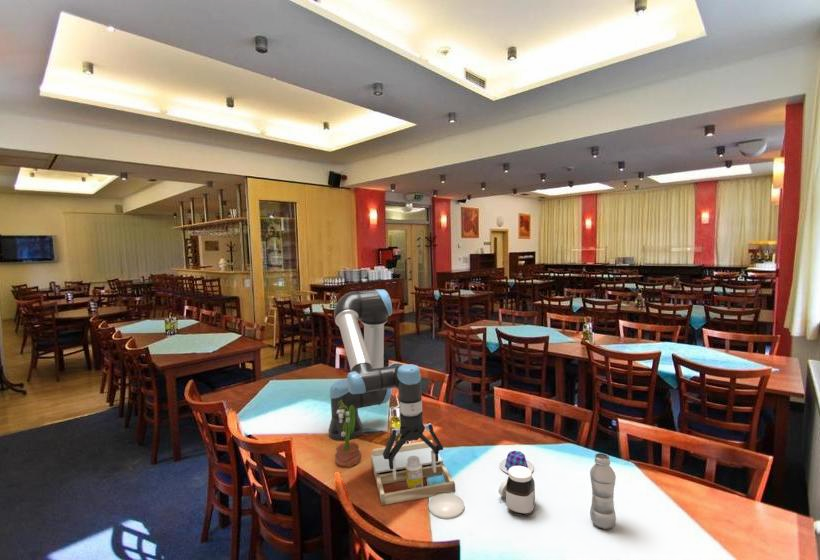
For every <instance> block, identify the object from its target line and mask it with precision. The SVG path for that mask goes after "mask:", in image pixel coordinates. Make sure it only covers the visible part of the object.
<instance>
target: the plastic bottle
mask: <svg viewBox="0 0 820 560" xmlns="http://www.w3.org/2000/svg"><path fill="white" fill-rule="evenodd" d="M594 463H595V464H594V465H592V467H591V468H590V471H589V476H590V483H591V491H592V493H591V495H592V497H591V505H590V510H589V515H590V520H591V523H593V524H594V526H595V527H598V528H600V529H604V530H609V529H612V528H613V527H615V525H616V522H617V521H616V520H617V516H616V510H615V502H614V495H615V494H614V491H615V485H616V476H617V475H616V472H615V470H613V468H612V466H611V461H610V456H609V455H608V454H606V453H603V452H599V453H595V454H594Z"/></svg>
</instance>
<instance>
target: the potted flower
mask: <svg viewBox="0 0 820 560" xmlns="http://www.w3.org/2000/svg"><path fill="white" fill-rule="evenodd" d="M341 401H342V400H341ZM341 401H340V402H341ZM338 404H339V403H338ZM342 404H343V405H342ZM341 405H342V407H344V409H341ZM345 407H347V406H345V405H344V403H343V402H342V403H341V404H340V409H339V410H337V413H338V414H339V419H340V420H339V423H342V422H343V420H342V418H344V417H343V415H344V414H345V415H344V416H345V423H344V425H343V429H344V431H343V432H342V433H341V435H342V436H343V437H344V436H345V440H344V442H343V443H340V444H338V445H337V447H336V448H335V450H336V453H335V456H334V461H335V463H336V464H337V465H339V466H341V467H351V466H354V465H356V464H358V463H359V461H360V460H361V458H362V453H361V450H360V444H358V443H357V442H354V441H350V440H351V439H350V436H351V434H352V432H353V430H354V424H355V410H354V406H353V405H351V406H350V407H349V410H348V408H347V412H346V409H345ZM337 413H336V414H337Z"/></svg>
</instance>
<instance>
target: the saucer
mask: <svg viewBox="0 0 820 560" xmlns="http://www.w3.org/2000/svg"><path fill="white" fill-rule="evenodd" d="M464 510H465V503H464V500H463V499H462V498H461V497H460V496H458V495H457V494H453V493H442V494H438V495H435V496H431V498H429V501H428V511H429V512H430V514H431V515H432V516H434V517H435V518H438V519H442V520H449V519H455V518H458V517H460V516H461V515H462V514H463V512H464Z"/></svg>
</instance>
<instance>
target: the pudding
mask: <svg viewBox="0 0 820 560" xmlns="http://www.w3.org/2000/svg"><path fill="white" fill-rule="evenodd" d="M513 466H524V467H527V468H528V469H530V470H531V472H532V473H533V472H534V469H535V466H534V464H533V463H532V462H530V461H529V460H527V459H526V456H525V454H524V452H521V451H518V450H513V451H512V450H511V451H509V452H508V453H507V456H506V458H504V459H502V460H501V461H500V462H499V468H500V469H501V470H502V471H503V472H504V473H506V474H508V470H509V468H511V467H513Z"/></svg>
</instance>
